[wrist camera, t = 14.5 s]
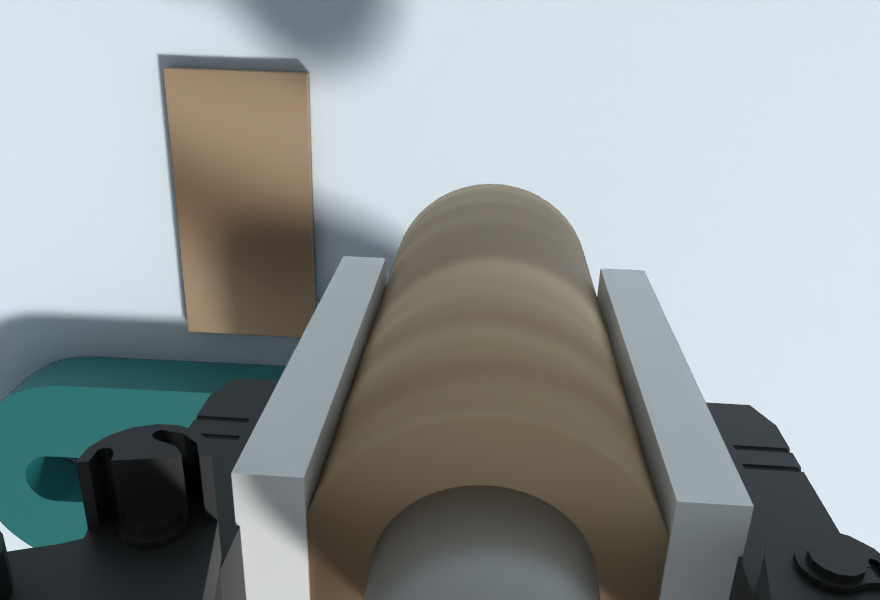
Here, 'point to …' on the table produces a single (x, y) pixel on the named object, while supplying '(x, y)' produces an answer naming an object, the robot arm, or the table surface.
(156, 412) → the bracket
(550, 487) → the tan cylinder gray tip
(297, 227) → the wooden slat
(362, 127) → the table surface
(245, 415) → the robot arm
